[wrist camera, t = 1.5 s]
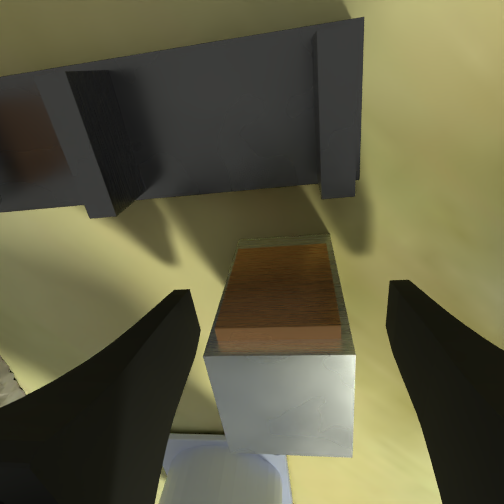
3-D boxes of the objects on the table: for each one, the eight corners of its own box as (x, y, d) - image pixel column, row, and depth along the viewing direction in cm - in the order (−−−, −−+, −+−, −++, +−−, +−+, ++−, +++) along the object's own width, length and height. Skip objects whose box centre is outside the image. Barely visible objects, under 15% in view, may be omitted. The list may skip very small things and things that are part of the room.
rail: (353, 23, 9) (504, -78, 3) (351, 166, 11) (435, 310, 5) (-158, 107, 12) (-693, 156, 5) (-89, 209, 14) (-423, 335, 7)
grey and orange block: (252, 317, 15) (230, 452, 10) (237, 230, 13) (199, 343, 8) (331, 315, 14) (352, 457, 9) (329, 224, 12) (355, 341, 7)
